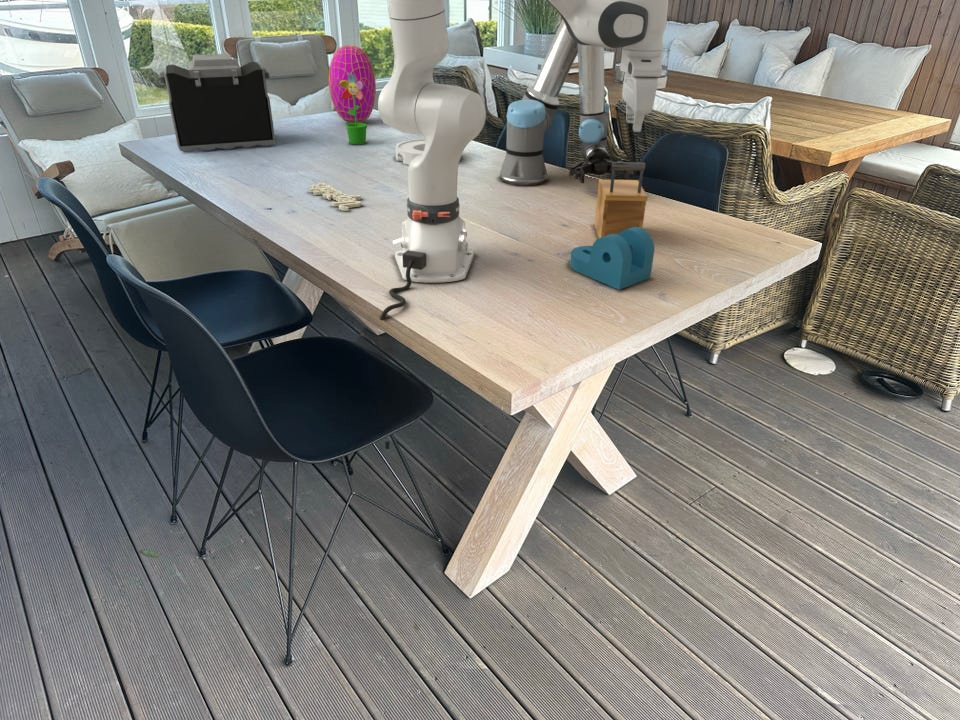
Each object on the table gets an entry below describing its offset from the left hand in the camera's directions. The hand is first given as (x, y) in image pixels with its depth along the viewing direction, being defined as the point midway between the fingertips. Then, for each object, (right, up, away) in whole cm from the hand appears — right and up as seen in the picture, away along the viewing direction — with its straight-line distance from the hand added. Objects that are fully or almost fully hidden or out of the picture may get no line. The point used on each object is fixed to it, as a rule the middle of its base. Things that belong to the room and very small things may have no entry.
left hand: (633, 126), depth 161 cm
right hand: (+1, -2, +38) cm, 38 cm away
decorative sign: (-78, -7, +42) cm, 89 cm away
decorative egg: (-89, +47, +133) cm, 166 cm away
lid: (0, -12, +12) cm, 17 cm away
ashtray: (-54, +17, +83) cm, 101 cm away
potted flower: (-82, +28, +101) cm, 133 cm away
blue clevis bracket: (-7, -34, -3) cm, 35 cm away
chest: (0, -22, +18) cm, 28 cm away
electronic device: (-132, +27, +98) cm, 166 cm away
